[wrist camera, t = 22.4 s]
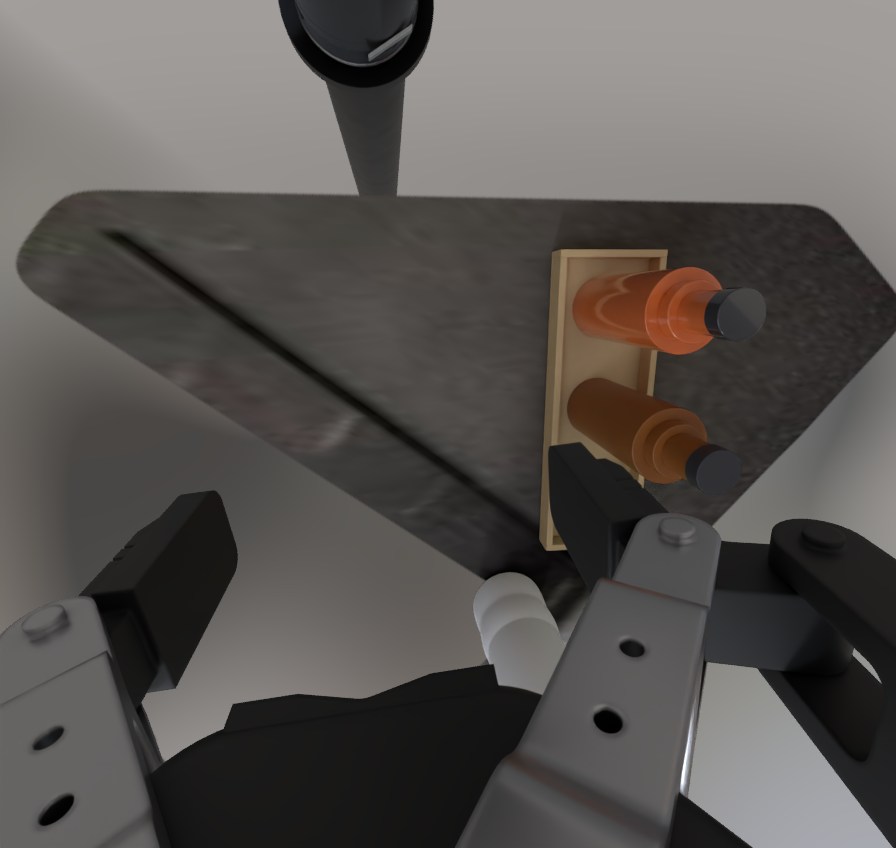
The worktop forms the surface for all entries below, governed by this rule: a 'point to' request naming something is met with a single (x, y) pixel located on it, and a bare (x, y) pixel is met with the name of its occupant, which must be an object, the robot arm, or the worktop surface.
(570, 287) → the tray
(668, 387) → the worktop surface
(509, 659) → the water bottle
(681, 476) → the amber bottle
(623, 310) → the terracotta bottle
